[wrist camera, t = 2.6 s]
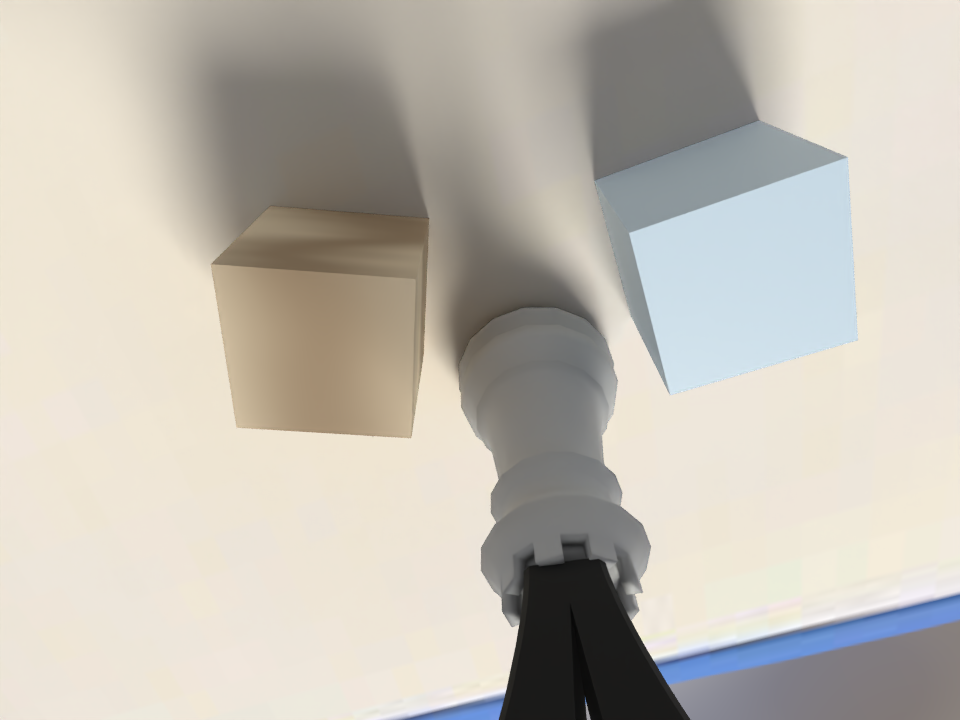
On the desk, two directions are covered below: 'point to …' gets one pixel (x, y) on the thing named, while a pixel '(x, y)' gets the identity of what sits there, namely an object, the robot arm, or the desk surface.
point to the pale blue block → (734, 253)
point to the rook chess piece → (549, 451)
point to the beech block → (325, 321)
